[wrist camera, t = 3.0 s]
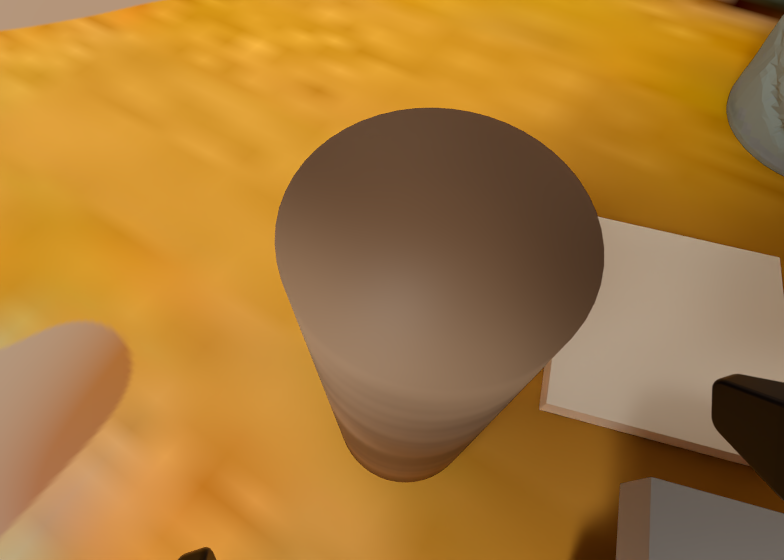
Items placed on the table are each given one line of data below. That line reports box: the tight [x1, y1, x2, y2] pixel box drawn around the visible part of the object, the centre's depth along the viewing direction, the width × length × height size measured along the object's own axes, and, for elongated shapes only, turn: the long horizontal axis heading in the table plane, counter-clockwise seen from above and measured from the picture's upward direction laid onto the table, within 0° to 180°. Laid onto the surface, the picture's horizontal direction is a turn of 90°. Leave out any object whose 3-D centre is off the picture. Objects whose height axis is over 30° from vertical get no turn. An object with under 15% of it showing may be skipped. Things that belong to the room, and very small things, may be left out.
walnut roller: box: [275, 108, 604, 482], centre depth 13 cm, size 5×5×13 cm
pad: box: [539, 217, 784, 466], centre depth 20 cm, size 9×9×1 cm
